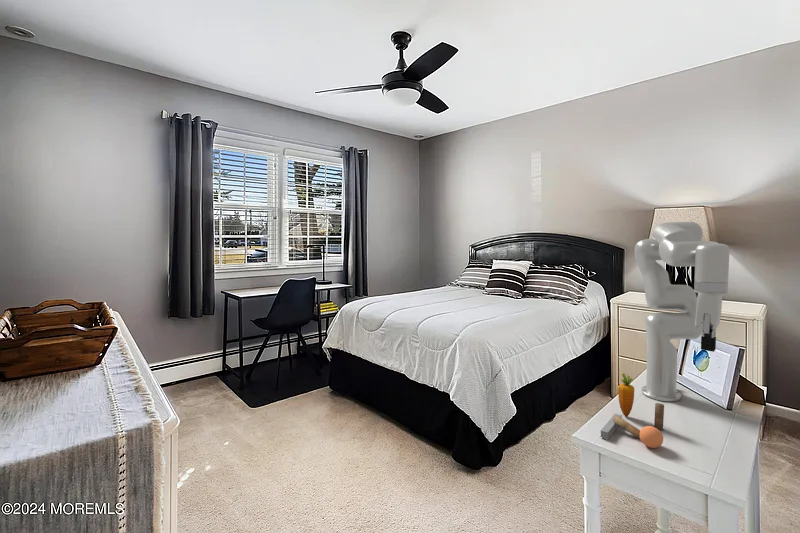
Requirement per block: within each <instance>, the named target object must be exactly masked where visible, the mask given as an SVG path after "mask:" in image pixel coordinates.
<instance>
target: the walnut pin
mask: <svg viewBox="0 0 800 533" xmlns="http://www.w3.org/2000/svg"><path fill="white" fill-rule="evenodd" d="M664 417H665V404H663V403H659V402H656V403H655V404H654V425H653V427H655V428H657V429H658V430H659V431H660V432H661V431H664V419H665V418H664Z"/></svg>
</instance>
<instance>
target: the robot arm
mask: <svg viewBox="0 0 800 533" xmlns="http://www.w3.org/2000/svg"><path fill="white" fill-rule="evenodd" d="M703 231H704V230H703V229H702V227H701V225H700V224H699V223H697V222H694V221H675V222H674V221H672V222H671V221H670V222H664V223H660V224H658V225H657V226H655V228H654V229H653V230H652V233H651V234H652V238H645V239H641V240H639V241H638V242H636V243H635V246H634V259H635V262H636V265H637V266H638V269H639V271H640V273H641V277H642V281H643V282H642V283H643V289H644V295H645V301H646V304H647V306H648V308H650V309H652V310H659V311H661V310H662V311H679V312H653V313H650V314H648V315H647V316H646V317H645V319H644V327H645V333H646V334H645V335H646V380H645V381H646V383H645V384H646V385H644V386H642V387H641V394H643V395H645V396H646V397H647V398H649V399H653V400H657V401H662V402H670V403H671V402H677V401H680V400H681V399H682V394H681V393H680V392H679V391H678V390H677V384H678V383H677V380H678V377H677V375H678V374H677V373H678V349H677V348H676V346H675V345H674V344H673V343H672V341H670V340H696V339H698V338H700V349H701V350H702V351H707V352H715V351H716V348H717V347H716V346H717V337H716V334H717V333H716V332H717V328H718V327H719V325H720V324H721V317H722V307H723V305H722V303H723V295H728V292H729V290H728V289H729V271H730V252H731V251H730V247H729V245H727V244H724V243H720V242H716V241H714V240H713V241H712V240H705V241H704V240H703V237H704V232H703ZM702 240H703V241H702ZM657 261H663V262H664V263H665V264H667V265H669V266H670V267H677V268H679V267H681V268H682V267H683V268H684V267H694V284H693V285H694V286H693V287H694V288H693V287H692V286H690V285H688V284H672V283H671V280H670V275H669V272H668V270H666V268H665V267H664V266H662V264H660V263H659V262H657Z"/></svg>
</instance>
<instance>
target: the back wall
mask: <svg viewBox="0 0 800 533" xmlns="http://www.w3.org/2000/svg"><path fill="white" fill-rule="evenodd" d="M616 415H618V416H619V417H621V418H622V419H623V416H622V415H623V414H618V413H614V414H612V417H611V418H610V419H609V420H608V421H607V423H605V425H604V426H603V427H602V428H601V430H600V438H601V437H602V438H604V439H603V440H605V439H607V440H606V441H608V440H609V439H610V438H611V437H612V435H613V434H614V433H615V431H617V429H618V428H619V427H620V426H619V425H618V424H616V423H615V422H613V419H614V417H615V416H616ZM610 436H611V437H610ZM609 437H610V438H609ZM602 438H601V439H602Z"/></svg>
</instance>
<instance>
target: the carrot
mask: <svg viewBox="0 0 800 533" xmlns="http://www.w3.org/2000/svg"><path fill="white" fill-rule="evenodd" d="M621 376H622V378H621V379H620V380H621V382H622V383H620V384H619V385H618V390H617V392H618V403H619V408H620V410H621V412H622V415H623V416H624V417H626V418H627V417H628V416H629V415H630V414H631V412H632V409H633V407H634V406H633V405H634V400H635V386H634V385H632V384H631V382H632V380H633V378H632V377H630V375H627V376H626V375H625V373H624V372H623V373H621Z"/></svg>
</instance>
